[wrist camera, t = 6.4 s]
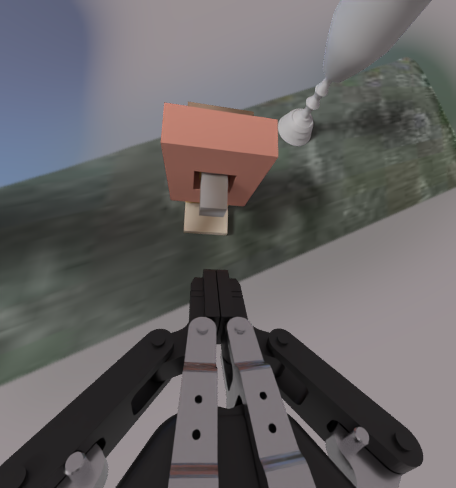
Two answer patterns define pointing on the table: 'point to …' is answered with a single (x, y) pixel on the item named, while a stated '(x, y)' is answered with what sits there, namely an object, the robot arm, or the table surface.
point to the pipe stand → (210, 195)
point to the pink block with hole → (216, 150)
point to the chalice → (352, 51)
